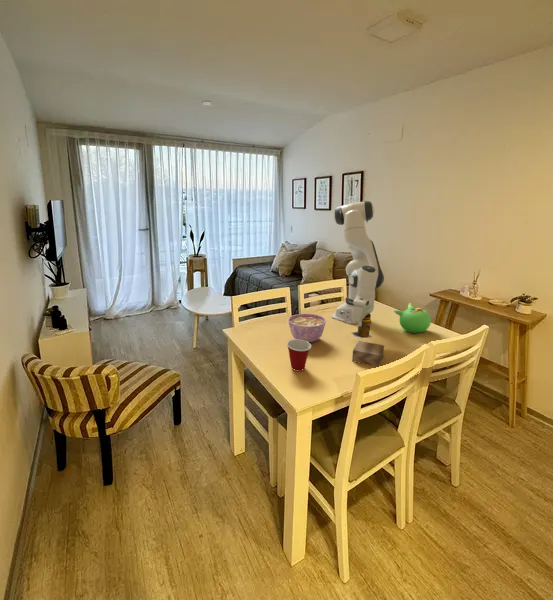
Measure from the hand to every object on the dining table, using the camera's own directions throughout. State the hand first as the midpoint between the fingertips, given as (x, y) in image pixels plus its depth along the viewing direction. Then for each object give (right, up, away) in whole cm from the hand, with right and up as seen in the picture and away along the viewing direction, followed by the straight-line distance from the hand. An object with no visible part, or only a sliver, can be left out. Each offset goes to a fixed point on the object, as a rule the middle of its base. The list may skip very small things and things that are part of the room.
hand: (362, 323), depth 174 cm
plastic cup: (-35, -19, -24) cm, 46 cm away
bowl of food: (-29, -9, +6) cm, 31 cm away
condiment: (0, -6, +2) cm, 7 cm away
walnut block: (-1, -16, -15) cm, 22 cm away
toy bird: (+34, -6, +19) cm, 39 cm away
